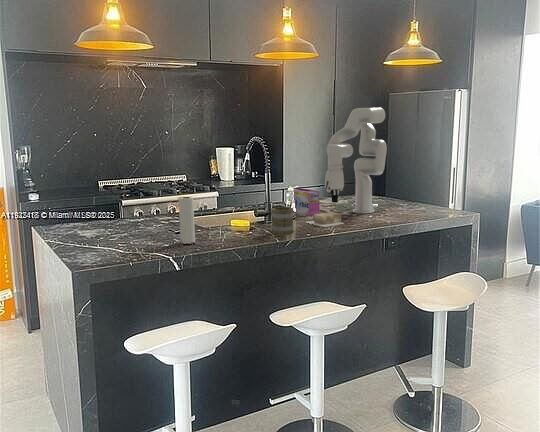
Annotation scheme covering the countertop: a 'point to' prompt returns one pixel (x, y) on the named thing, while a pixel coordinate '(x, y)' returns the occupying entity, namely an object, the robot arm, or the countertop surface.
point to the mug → (282, 220)
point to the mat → (325, 224)
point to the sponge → (327, 218)
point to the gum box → (307, 201)
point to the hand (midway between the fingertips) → (334, 202)
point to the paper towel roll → (186, 219)
